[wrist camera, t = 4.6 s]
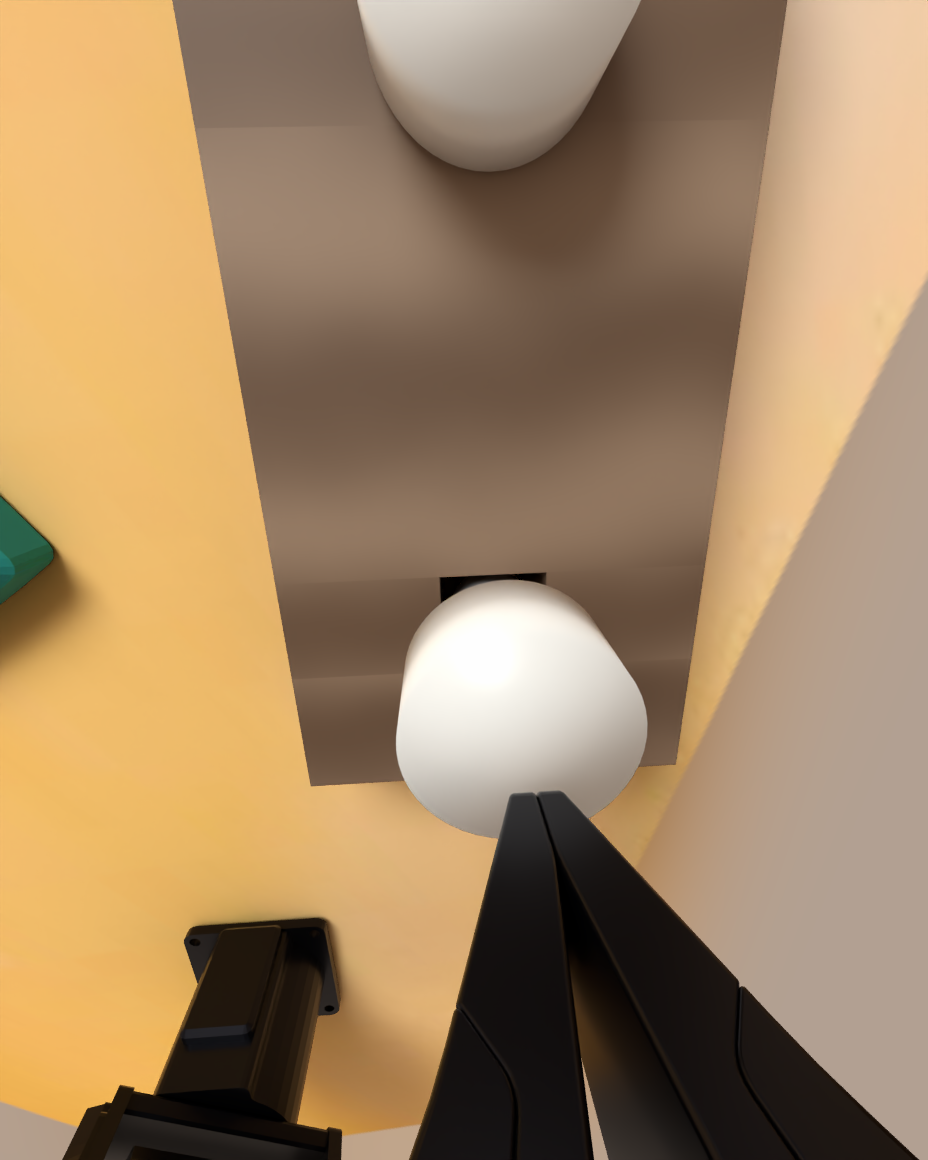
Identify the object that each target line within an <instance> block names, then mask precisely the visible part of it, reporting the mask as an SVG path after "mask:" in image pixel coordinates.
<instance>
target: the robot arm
mask: <svg viewBox="0 0 928 1160" xmlns="http://www.w3.org/2000/svg"><path fill="white" fill-rule="evenodd" d="M184 944H185V947H186V950H187V953H188V956H189V959H190V962H191V965H192V968H193V971H194V974H195V977H196V980H197V983H198V985H197V988H196V990H195V993H194V995H193V998H192V1000H191V1002H190V1005H189V1007H188V1010H187V1012H186V1015H185V1017H184V1020H183V1022H182V1025H181V1027H180V1030H179V1032H178V1035H177V1037H176V1040H175V1042H174V1044H173V1047H172V1049H171V1052H170V1054H169V1057H168V1059H167V1062H166V1064H165V1067H164V1069H163V1072H162V1074H161V1077H160V1079H159V1081H158V1084H157V1086H156V1089H155V1091H154V1094H153V1095H150V1094H145V1093H140V1092H135V1091H134V1087H129V1086H124V1085H120V1086H119V1088H118V1090H117V1093H116V1095H115V1097H114V1099H113V1101H112V1103H108V1102H106V1103H105V1104H103V1105H99V1106H95V1107H91V1108H88V1109H87V1110H86V1112H85V1114H84V1116H83V1119H82V1121H81V1123H80V1125H79V1127H78V1129H77V1131H76V1133H75V1135H74V1137H73V1139H72V1141H71V1143H70V1145H69V1147H68V1149H67V1151H66V1153H65V1155H64V1157H63V1159H62V1160H341V1145H342V1144H341V1143H342V1130H341V1129H336V1128H331V1127H328V1128H327V1130H324V1129H319V1128H314V1127H309V1126H304V1125H299V1124H297V1120H298V1115H299V1110H300V1105H301V1100H302V1094H303V1089H304V1084H305V1079H306V1074H307V1069H308V1063H309V1058H310V1053H311V1048H312V1043H313V1037H314V1032H315V1027H316V1022H317V1017H318V1016H320V1015H332V1014H335V1013H337V1012H338V1011H339V1007H340V1000H341V998H340V992H339V987H338V982H337V976H336V971H335V965H334V960H333V954H332V949H331V944H330V938H329V933H328V927H327V924H326V922H325V921H324V920H322V919H319V918H311V919H297V920H282V921H267V922H253V923H238V924H224V925H209V926H196V927H192V928H190V929H189V931H188V933H187V935H186V937H185V939H184ZM456 1008H457V1009H456V1010H455V1011H454V1013H453V1017H452V1021H451V1025H450V1029H449V1033H448V1037H447V1041H446V1044H445V1048H444V1051H443V1055H442V1058H441V1062H440V1065H439V1069H438V1072H437V1076H436V1079H435V1083H434V1086H433V1090H432V1093H431V1097H430V1100H429V1103H428V1106H427V1109H426V1112H425V1114H424V1117H423V1120H422V1123H421V1126H420V1129H419V1132H418V1135H417V1138H416V1141H415V1144H414V1147H413V1149H412V1153H411V1155H410V1158H409V1160H594V1156H593V1148H592V1140H591V1132H590V1124H589V1116H588V1108H587V1101H586V1092H585V1084H584V1077H583V1068H582V1062H583V1065H584V1069H585V1073H586V1077H587V1080H588V1084H589V1088H590V1091H591V1095H592V1099H593V1103H594V1107H595V1110H596V1114H597V1118H598V1121H599V1125H600V1129H601V1133H602V1136H603V1140H604V1144H605V1148H606V1151H607V1155H608V1159H609V1160H919V1159H918V1158H917V1157H915V1156H914V1155H913V1154H912V1153H911V1152H910V1151H909V1150H908V1149H907V1148H906V1147H905V1146H904V1145H903V1144H902V1143H900V1142H899V1141H898V1140H897V1139H896V1138H895V1137H894V1136H893V1135H892V1134H891V1133H890V1132H889V1131H888V1130H887V1129H885V1128H884V1127H883V1126H882V1125H881V1124H880V1123H879V1122H878V1121H877V1120H876V1119H875V1118H874V1117H873V1116H872V1115H871V1114H869V1112H867V1111H866V1110H865V1109H864V1108H863V1107H862V1106H861V1105H860V1104H859V1103H858V1102H857V1101H856V1100H855V1099H854V1098H853V1097H852V1096H851V1095H850V1094H849V1093H848V1092H847V1091H846V1090H845V1089H844V1088H843V1087H842V1086H840V1085H839V1084H838V1083H837V1082H836V1081H835V1080H834V1079H833V1078H832V1077H831V1076H830V1075H829V1074H828V1073H827V1072H826V1071H825V1070H824V1069H823V1068H822V1067H821V1066H820V1065H819V1064H818V1063H817V1062H816V1061H815V1060H814V1059H813V1058H812V1057H811V1056H810V1055H809V1054H808V1053H807V1052H806V1051H805V1050H804V1049H803V1048H802V1047H801V1046H800V1045H799V1044H798V1043H797V1042H796V1040H794V1039H793V1037H792V1036H791V1035H789V1033H788V1032H787V1031H786V1030H785V1029H784V1028H783V1027H782V1026H781V1025H780V1024H779V1023H778V1022H777V1021H776V1020H775V1019H774V1018H773V1017H772V1016H771V1015H770V1014H769V1013H768V1011H767V1010H766V1009H765V1008H764V1007H763V1006H762V1005H761V1004H760V1003H759V1002H758V1001H757V1000H756V999H755V997H754V996H753V995H752V994H751V993H750V992H749V991H748V990H747V989H746V988H745V987H743V986H741V987H740V988H739V981H738V979H737V978H736V977H735V976H734V975H733V974H732V973H731V972H730V971H729V970H728V969H727V967H726V966H725V965H724V964H723V963H722V962H721V961H720V960H719V959H718V958H717V957H716V956H715V955H714V954H713V953H712V951H711V950H710V949H709V948H708V947H707V946H706V945H705V944H704V943H703V942H702V941H701V940H700V938H698V936H696V934H695V933H694V932H693V931H692V930H691V929H690V928H689V927H688V926H687V925H686V923H685V922H684V921H683V920H682V919H681V918H680V917H679V916H678V915H677V914H676V913H675V912H674V910H673V909H672V908H671V907H670V906H669V905H668V904H667V903H666V902H665V901H664V900H663V899H662V898H661V897H660V896H659V895H658V894H657V892H656V891H655V890H654V889H653V888H652V887H651V886H650V885H649V884H648V883H647V881H646V880H644V878H643V877H642V876H641V875H640V874H639V873H638V872H637V871H636V870H635V869H634V867H633V866H632V865H631V864H630V863H629V862H628V861H627V860H626V859H625V858H624V857H623V856H622V855H621V853H620V852H619V851H618V850H617V849H616V848H615V847H614V846H613V845H612V844H611V843H610V842H609V841H608V839H607V838H606V837H605V836H604V835H603V834H602V833H601V832H600V831H599V830H598V829H597V828H596V827H595V825H594V824H593V823H592V822H591V821H590V820H589V819H588V818H587V817H586V816H585V815H584V814H583V813H582V811H581V810H580V809H579V808H578V807H577V806H576V805H575V804H574V803H573V802H572V801H571V800H570V799H569V797H568V796H567V795H566V794H565V793H564V792H562V791H560V790H555V791H540V792H538V793H537V795H535V793H533V792H523V793H512V794H511V795H510V796H509V800H508V803H507V807H506V811H505V815H504V819H503V823H502V827H501V831H500V835H499V839H498V843H497V847H496V850H495V854H494V858H493V862H492V866H491V870H490V874H489V878H488V882H487V886H486V890H485V894H484V897H483V901H482V905H481V909H480V913H479V917H478V921H477V925H476V929H475V933H474V937H473V940H472V944H471V948H470V952H469V956H468V960H467V964H466V968H465V972H464V976H463V980H462V983H461V987H460V991H459V995H458V999H457V1003H456ZM581 1058H582V1060H581Z"/></svg>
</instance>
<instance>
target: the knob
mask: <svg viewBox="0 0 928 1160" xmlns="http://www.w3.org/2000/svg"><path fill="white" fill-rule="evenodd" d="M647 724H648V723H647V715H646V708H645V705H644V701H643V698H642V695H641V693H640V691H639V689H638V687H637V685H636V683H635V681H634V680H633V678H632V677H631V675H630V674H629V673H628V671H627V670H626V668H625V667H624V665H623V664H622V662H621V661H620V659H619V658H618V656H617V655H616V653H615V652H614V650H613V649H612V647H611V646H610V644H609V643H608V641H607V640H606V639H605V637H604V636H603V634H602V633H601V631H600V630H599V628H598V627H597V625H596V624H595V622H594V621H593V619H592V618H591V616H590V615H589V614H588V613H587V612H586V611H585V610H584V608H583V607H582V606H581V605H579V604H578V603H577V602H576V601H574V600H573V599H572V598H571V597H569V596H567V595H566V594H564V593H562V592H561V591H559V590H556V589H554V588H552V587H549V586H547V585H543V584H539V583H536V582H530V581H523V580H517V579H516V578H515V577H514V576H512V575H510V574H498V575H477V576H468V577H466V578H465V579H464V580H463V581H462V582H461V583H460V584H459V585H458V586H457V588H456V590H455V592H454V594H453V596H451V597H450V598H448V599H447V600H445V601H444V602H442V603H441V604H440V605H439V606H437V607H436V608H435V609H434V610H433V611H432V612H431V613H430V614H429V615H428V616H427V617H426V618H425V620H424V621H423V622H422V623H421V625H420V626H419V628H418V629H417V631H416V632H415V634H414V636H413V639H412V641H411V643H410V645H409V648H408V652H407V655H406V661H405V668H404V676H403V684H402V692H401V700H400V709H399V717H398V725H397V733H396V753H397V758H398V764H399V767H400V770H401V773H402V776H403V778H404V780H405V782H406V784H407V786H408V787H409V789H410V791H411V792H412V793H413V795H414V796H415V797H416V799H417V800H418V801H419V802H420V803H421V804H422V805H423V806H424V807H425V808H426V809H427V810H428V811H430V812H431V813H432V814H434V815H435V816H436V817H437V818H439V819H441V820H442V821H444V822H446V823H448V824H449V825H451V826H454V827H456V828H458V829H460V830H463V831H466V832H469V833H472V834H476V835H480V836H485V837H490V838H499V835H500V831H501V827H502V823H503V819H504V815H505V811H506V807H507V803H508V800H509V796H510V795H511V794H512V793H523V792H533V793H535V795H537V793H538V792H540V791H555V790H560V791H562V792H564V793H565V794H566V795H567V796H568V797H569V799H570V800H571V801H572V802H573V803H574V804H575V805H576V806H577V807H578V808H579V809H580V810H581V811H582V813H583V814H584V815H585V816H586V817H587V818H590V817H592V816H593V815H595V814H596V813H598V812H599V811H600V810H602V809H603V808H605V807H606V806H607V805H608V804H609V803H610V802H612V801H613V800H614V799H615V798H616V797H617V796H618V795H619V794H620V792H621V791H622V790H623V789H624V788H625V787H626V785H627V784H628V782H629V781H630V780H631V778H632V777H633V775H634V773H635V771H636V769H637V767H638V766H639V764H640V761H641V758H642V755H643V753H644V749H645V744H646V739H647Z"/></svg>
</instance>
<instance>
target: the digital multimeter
mask: <svg viewBox="0 0 928 1160" xmlns="http://www.w3.org/2000/svg"><path fill="white" fill-rule="evenodd" d="M53 558H54V557H53V549H52V548H51V546H50V545H49V543H48V542H47V541H46V540H45V539H44V538H43V537H42V536H41V535H40V534H39V533H38V532H37V531H36V530H35V529H34V528H33V527H32V526H30V525H29V524H28V523H27V522H26V521H25V520H24V519H23V518H22V517H21V516H20V515H19V514H18V513H17V512H16V511H15V510H14V509H13V508H12V507H11V506H10V505H9V504H8V503H7V502H6V501H5V500H4V499H3V498H2V497H1V496H0V604H2V603H3V602H4V601H5V600H7V599H8V598H9V597H10V596H12V595H13V594H14V593H15V592H17V591H18V590H19V589H20V588H22V587H23V586H24V585H25V584H27V583H28V582H29V581H30V580H31V579H32V578H34V577H35V576H36V575H37V574H38V573H39V572H40V571H42V570H43V569H44V568H45V567H46V566H47V565H48V564H50V562H51V561H52V560H53Z"/></svg>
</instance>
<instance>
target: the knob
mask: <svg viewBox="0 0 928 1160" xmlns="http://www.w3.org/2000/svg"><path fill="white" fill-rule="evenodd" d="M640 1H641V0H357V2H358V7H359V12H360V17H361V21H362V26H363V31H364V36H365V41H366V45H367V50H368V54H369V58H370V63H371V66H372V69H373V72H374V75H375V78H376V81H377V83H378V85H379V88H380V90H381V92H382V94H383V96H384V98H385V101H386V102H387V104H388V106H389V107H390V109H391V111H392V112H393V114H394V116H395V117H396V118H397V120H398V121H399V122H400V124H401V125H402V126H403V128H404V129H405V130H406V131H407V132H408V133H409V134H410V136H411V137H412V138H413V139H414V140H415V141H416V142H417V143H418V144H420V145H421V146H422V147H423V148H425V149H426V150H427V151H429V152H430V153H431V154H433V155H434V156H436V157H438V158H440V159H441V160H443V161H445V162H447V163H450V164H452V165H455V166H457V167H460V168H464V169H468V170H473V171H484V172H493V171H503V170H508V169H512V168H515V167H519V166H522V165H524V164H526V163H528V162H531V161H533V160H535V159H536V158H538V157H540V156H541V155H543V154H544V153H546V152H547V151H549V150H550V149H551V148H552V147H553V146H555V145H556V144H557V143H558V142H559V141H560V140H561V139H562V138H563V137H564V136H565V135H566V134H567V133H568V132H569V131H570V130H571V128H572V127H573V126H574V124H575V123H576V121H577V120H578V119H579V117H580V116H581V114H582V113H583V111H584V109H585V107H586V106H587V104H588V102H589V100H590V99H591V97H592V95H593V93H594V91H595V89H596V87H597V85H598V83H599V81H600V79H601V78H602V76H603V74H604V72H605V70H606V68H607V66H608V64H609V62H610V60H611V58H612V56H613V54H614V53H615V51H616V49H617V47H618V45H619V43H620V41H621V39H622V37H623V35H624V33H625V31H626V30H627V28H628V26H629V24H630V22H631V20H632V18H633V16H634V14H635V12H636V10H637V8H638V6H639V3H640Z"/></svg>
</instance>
